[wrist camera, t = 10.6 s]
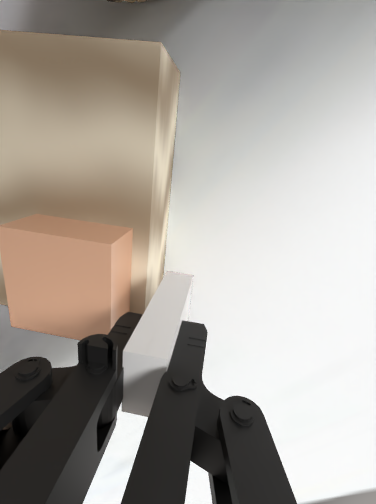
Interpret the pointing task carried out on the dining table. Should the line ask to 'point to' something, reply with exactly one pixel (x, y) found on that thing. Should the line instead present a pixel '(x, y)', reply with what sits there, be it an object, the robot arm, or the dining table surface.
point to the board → (90, 139)
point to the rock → (127, 0)
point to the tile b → (66, 274)
